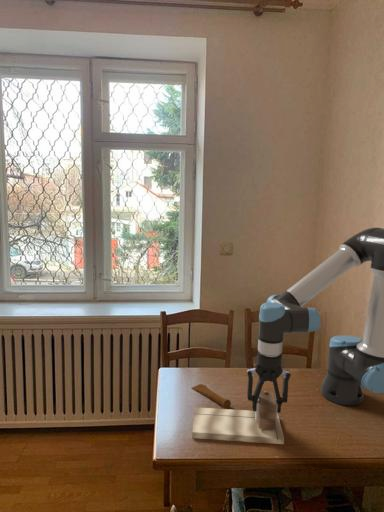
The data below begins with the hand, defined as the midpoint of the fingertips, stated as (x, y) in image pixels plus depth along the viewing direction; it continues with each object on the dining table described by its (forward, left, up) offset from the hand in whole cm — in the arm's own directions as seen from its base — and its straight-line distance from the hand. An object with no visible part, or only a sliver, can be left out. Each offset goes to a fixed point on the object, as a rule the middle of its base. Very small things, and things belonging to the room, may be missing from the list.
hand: (265, 420), depth 123 cm
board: (+9, 0, -3) cm, 10 cm away
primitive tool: (+18, -18, -4) cm, 26 cm away
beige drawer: (0, 0, 0) cm, 0 cm away
